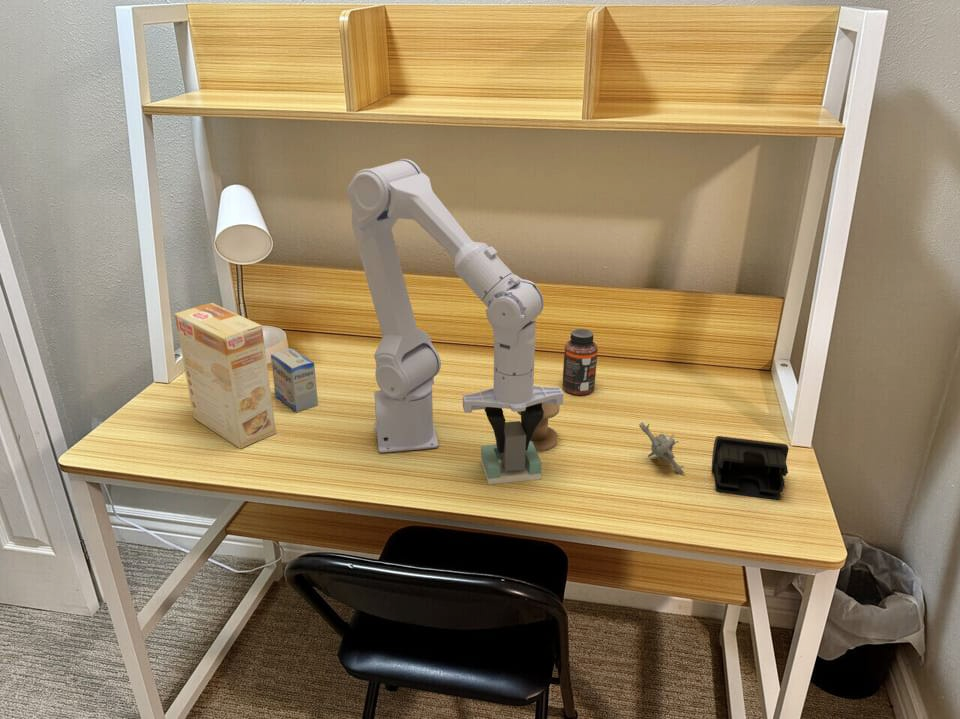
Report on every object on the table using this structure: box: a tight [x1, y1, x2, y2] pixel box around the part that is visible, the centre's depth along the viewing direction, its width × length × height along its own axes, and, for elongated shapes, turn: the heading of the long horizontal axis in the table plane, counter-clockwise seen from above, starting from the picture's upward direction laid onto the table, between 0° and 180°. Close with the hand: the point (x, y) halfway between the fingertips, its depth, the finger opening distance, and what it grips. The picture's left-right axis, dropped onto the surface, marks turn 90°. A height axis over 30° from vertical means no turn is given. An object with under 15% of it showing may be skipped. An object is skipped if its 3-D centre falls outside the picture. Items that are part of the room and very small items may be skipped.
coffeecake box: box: [174, 302, 277, 450], centre depth 123 cm, size 15×7×20 cm, turn 48°
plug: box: [500, 420, 526, 471], centre depth 112 cm, size 3×4×6 cm
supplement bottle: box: [562, 328, 599, 396], centre depth 137 cm, size 6×6×11 cm
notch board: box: [480, 441, 543, 485], centre depth 114 cm, size 8×6×3 cm
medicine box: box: [270, 347, 319, 413], centre depth 133 cm, size 8×4×9 cm, turn 42°
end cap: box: [711, 435, 790, 501], centre depth 111 cm, size 10×7×7 cm
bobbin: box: [516, 403, 561, 452], centre depth 122 cm, size 7×7×7 cm
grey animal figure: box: [638, 421, 685, 476], centre depth 117 cm, size 10×6×9 cm
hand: (511, 448), depth 113 cm, fingers closed on plug, 3 cm apart
